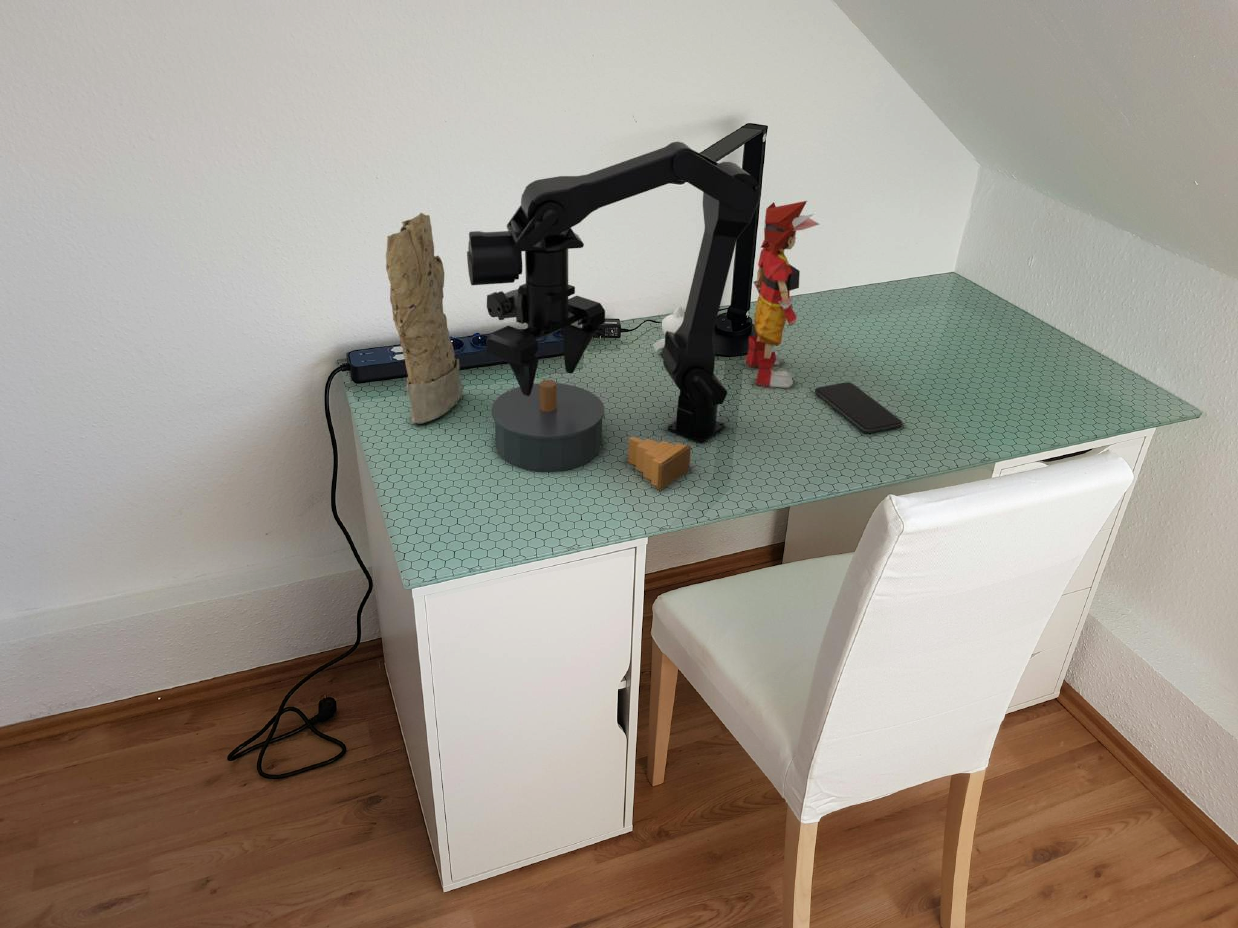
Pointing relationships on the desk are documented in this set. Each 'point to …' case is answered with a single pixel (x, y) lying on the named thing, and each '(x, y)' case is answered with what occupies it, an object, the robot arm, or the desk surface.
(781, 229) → the toy
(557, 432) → the pan lid
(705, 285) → the robot arm
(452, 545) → the desk surface
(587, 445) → the pan
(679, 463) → the tan stepped block
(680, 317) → the figurine
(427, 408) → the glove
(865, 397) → the smartphone
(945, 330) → the desk surface
